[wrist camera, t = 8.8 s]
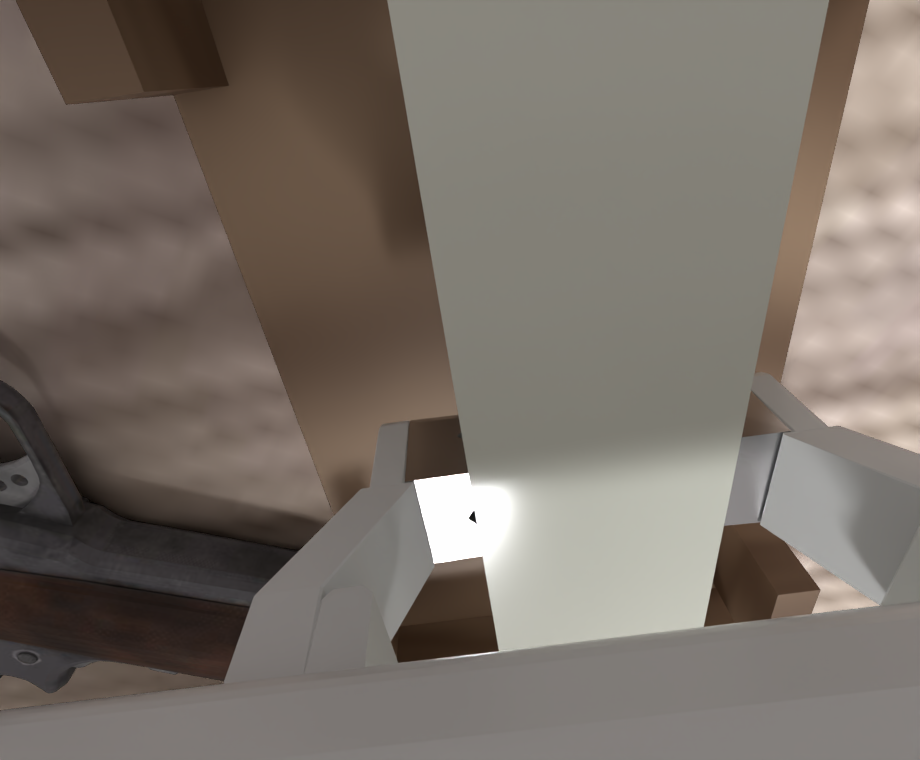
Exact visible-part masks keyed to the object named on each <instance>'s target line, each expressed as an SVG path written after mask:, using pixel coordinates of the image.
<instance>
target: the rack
mask: <svg viewBox="0 0 920 760" xmlns="http://www.w3.org/2000/svg"><path fill="white" fill-rule="evenodd" d="M16 2H17V4H18V6H19V8H20V11H21V13H22V15H23V17H24V19H25V21H26V23H27V25H28V27H29V29H30V31H31V33H32V35H33V37H34V39H35V42H36V44H37V46H38V48H39V50H40V52H41V54H42V56H43V58H44V60H45V62H46V64H47V66H48V68H49V70H50V73H51V75H52V77H53V79H54V81H55V83H56V85H57V87H58V89H59V91H60V93H61V95H62V97H63V99H64V101H65V104H66V105H68V104H79V103H90V102H101V101H112V100H123V99H134V98H145V97H156V96H167V95H174V98H175V101H176V103H177V106H178V108H179V111H180V114H181V116H182V119H183V122H184V124H185V127H186V129H187V132H188V135H189V137H190V140H191V142H192V145H193V148H194V150H195V153H196V156H197V158H198V161H199V163H200V166H201V169H202V171H203V174H204V177H205V179H206V182H207V184H208V187H209V190H210V192H211V195H212V198H213V200H214V203H215V205H216V208H217V211H218V213H219V216H220V218H221V221H222V224H223V226H224V229H225V232H226V234H227V237H228V239H229V242H230V245H231V247H232V250H233V253H234V255H235V258H236V260H237V263H238V266H239V268H240V271H241V273H242V276H243V279H244V281H245V284H246V287H247V289H248V292H249V294H250V297H251V300H252V302H253V305H254V308H255V310H256V313H257V315H258V318H259V321H260V323H261V326H262V329H263V331H264V334H265V336H266V339H267V342H268V344H269V347H270V349H271V352H272V355H273V357H274V360H275V363H276V365H277V368H278V370H279V373H280V376H281V378H282V381H283V384H284V386H285V389H286V391H287V394H288V397H289V399H290V402H291V404H292V407H293V410H294V412H295V415H296V418H297V420H298V423H299V425H300V428H301V431H302V433H303V436H304V439H305V441H306V444H307V446H308V449H309V452H310V454H311V457H312V460H313V462H314V465H315V467H316V470H317V473H318V475H319V478H320V480H321V483H322V486H323V488H324V491H325V494H326V496H327V499H328V501H329V504H330V507H331V509H332V512H333V515H335V514H336V513H337V512H338V511H339V510H340V509H341V508H342V507H343V506H344V505H345V504H346V503H347V502H348V501H349V500H350V499H351V498H352V497H353V496H354V495H355V494H356V493H357V492H358V491H359V490H360V489H363V488H369V487H370V481H371V475H372V469H373V463H374V457H375V450H376V444H377V438H378V432H379V428H380V427H381V425H382V424H386V423H393V422H401V421H411V420H417V419H425V418H434V417H443V416H451V415H458V410H457V404H456V398H455V392H454V386H453V381H452V375H451V369H450V363H449V357H448V351H447V346H446V340H445V334H444V328H443V322H442V316H441V311H440V305H439V299H438V293H437V287H436V281H435V276H434V270H433V264H432V258H431V252H430V246H429V241H428V235H427V229H426V223H425V217H424V211H423V206H422V200H421V194H420V188H419V182H418V176H417V171H416V165H415V159H414V153H413V147H412V141H411V136H410V130H409V124H408V118H407V112H406V107H405V101H404V95H403V89H402V83H401V77H400V72H399V66H398V60H397V54H396V48H395V42H394V37H393V31H392V25H391V19H390V13H389V7H388V2H387V0H16ZM868 4H869V0H829V3H828V8H827V13H826V18H825V23H824V28H823V33H822V38H821V43H820V48H819V53H818V58H817V63H816V68H815V73H814V78H813V83H812V88H811V93H810V98H809V103H808V108H807V113H806V118H805V123H804V128H803V133H802V138H801V143H800V148H799V153H798V158H797V163H796V168H795V173H794V178H793V183H792V188H791V193H790V198H789V203H788V208H787V213H786V218H785V223H784V228H783V233H782V238H781V243H780V248H779V253H778V258H777V263H776V268H775V273H774V278H773V283H772V288H771V293H770V298H769V303H768V308H767V313H766V318H765V323H764V328H763V333H762V338H761V343H760V348H759V353H758V358H757V363H756V368H755V373H758V372H764V373H767V374H770V375H771V376H772V377H774V378H775V379H776V380H777V381H778V382H779V383H780V382H781V378H782V374H783V369H784V365H785V361H786V356H787V352H788V348H789V343H790V339H791V335H792V331H793V326H794V322H795V318H796V313H797V309H798V305H799V301H800V296H801V292H802V288H803V283H804V279H805V275H806V270H807V266H808V262H809V258H810V253H811V249H812V245H813V240H814V236H815V232H816V227H817V223H818V219H819V215H820V210H821V206H822V202H823V197H824V193H825V189H826V185H827V180H828V176H829V172H830V167H831V163H832V159H833V154H834V150H835V146H836V142H837V137H838V133H839V129H840V124H841V120H842V116H843V112H844V107H845V103H846V99H847V94H848V90H849V86H850V81H851V77H852V73H853V69H854V64H855V60H856V56H857V51H858V47H859V43H860V39H861V34H862V30H863V26H864V21H865V17H866V13H867V8H868ZM819 592H820V589H819V587H818V586H817V585H816V583H815V582H814V581H813V579H812V578H811V576H810V575H809V574H808V572H807V571H806V570H805V568H804V567H803V566H802V564H801V563H800V562H799V560H798V559H797V558H796V556H795V555H794V554H793V552H792V551H791V550H790V548H789V547H788V545H787V544H786V543H785V541H783V540H782V539H780V538H779V537H777V536H776V535H774V534H773V533H771V532H770V531H768V530H767V529H765V528H764V527H763V526H761V525H760V522H758V523H748V524H738V525H728V526H724V528H723V533H722V538H721V543H720V548H719V553H718V558H717V563H716V568H715V573H714V578H713V583H712V588H711V593H710V598H709V603H708V608H707V613H706V618H705V623H704V627H707V626H715V625H723V624H732V623H740V622H749V621H757V620H765V619H774V618H782V617H791V616H799V615H807V614H811V613H812V611H813V608H814V606H815V603H816V600H817V598H818V595H819ZM391 644H392V647H393V650H394V652H395V655H396V658H397V661H398V663H402V662H410V661H419V660H427V659H436V658H444V657H453V656H461V655H470V654H478V653H487V652H495V651H499V649H498V643H497V637H496V631H495V626H494V620H493V614H492V608H491V602H490V596H489V591H488V585H487V579H486V573H485V567H484V561H483V556H478V557H471V558H465V559H458V560H452V561H445V562H439V563H434V568H433V570H432V572H431V573H430V575H429V577H428V578H427V580H426V582H425V584H424V585H423V587H422V589H421V591H420V592H419V594H418V596H417V597H416V599H415V601H414V603H413V604H412V606H411V608H410V609H409V611H408V613H407V615H406V616H405V618H404V620H403V621H402V623H401V625H400V627H399V628H398V630H397V632H396V634H395V635H394V637H393V639H392V640H391Z"/></svg>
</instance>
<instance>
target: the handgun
mask: <svg viewBox="0 0 920 760" xmlns="http://www.w3.org/2000/svg"><path fill="white" fill-rule="evenodd" d="M0 416H1V417H2V418H3V419H4V420H5V421H6V422H7V423H8V424H9V426H10V428H11V429H12V431H13V433H14V434H15V436H16V437H17V439H18V441H19V442H20V444H21V446H22V447H23V449H24V451H25V452H26V454H27V455H25V456H23V457H22V458H20V459H18V460H15V461H11V462H7V463H0V678H1V677H2V675H7V676H13V677H17V678H21V679H24V680H27V681H29V682H31V683H32V684H34V685H36V686H37V687H39V688H41V689H42V690H44V691H45V692H47V693H53V692H56V691H57V690H58V689H60V688H61V687H62V686H64V685H65V684H66V683H67V682H68V681H69V679H70V678H71V676H72V674H73V673H74V671H75V669H76V668H81V667H84V666H87V665H89V664H90V663H93V662H96V661H111V662H118V663H125V664H131V665H137V666H143V667H148V668H149V669H151V670H155V671H160V672H164V673H169V674H178V673H182V674H188V675H193V676H199V677H205V678H210V679H216V680H222V681H224V680H225V677H226V674H227V672H228V669H229V666H230V663H231V660H232V657H233V654H234V652H235V649H236V646H237V643H238V640H239V637H240V634H241V632H242V629H243V626H244V623H245V620H246V617H247V615H248V612H249V609H250V606H251V603H252V600H253V597H254V596H255V595H256V594H257V593H258V592H259V591H260V590H261V589H262V588H263V587H264V586H265V585H266V584H267V583H268V582H269V580H270V579H271V578H272V577H273V576H274V575H275V574H276V573H277V572H278V571H279V570H280V569H281V568H282V567H283V566H284V565H285V564H286V563H287V562H288V561H289V560H290V559H291V558H292V557H293V556H294V555H295V554H296V553H297V552H298V551H296V550H290V549H285V548H280V547H274V546H269V545H263V544H258V543H252V542H247V541H241V540H236V539H231V538H225V537H220V536H214V535H209V534H203V533H198V532H192V531H187V530H181V529H176V528H171V527H165V526H159V525H154V524H148V523H142V522H137V521H131V520H127V519H125V518H122V517H120V516H118V515H116V514H114V513H113V512H111V511H110V510H108V509H107V508H106V507H105V506H102V505H98V504H94V503H91V502H89V499H88V498H85V497H82V496H81V495H80V493H79V491H78V489H77V488H76V486H75V484H74V482H73V480H72V478H71V476H70V475H69V473H68V471H67V469H66V467H65V465H64V463H63V462H62V460H61V458H60V456H59V454H58V452H57V450H56V449H55V447H54V445H53V443H52V441H51V439H50V437H49V435H48V434H47V432H46V430H45V428H44V426H43V424H42V422H41V421H40V419H39V417H38V415H37V413H36V411H35V409H34V408H33V407H32V406H31V404H30V403H29V402H28V401H27V400H26V399H25V398H24V397H23V396H22V395H21V394H19V393H18V392H17V391H16V390H15V389H14V388H12V387H11V386H9V385H8V384H6V383H5V382H3V381H1V380H0ZM21 475H22V476H24V477H25V478H24V477H22V476H21Z"/></svg>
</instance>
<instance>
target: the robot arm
mask: <svg viewBox="0 0 920 760" xmlns="http://www.w3.org/2000/svg"><path fill="white" fill-rule="evenodd" d="M758 522H760V525H761V526H763V527H764V528H765V529H767V530H768V531H770V532H771V533H773V534H774V535H776V536H777V537H779V538H780V539H782V540H783V541H785V542H786V543H788V544H789V545H791V546H792V547H794V548H795V549H797V550H798V551H800V552H801V553H803V554H804V555H806V556H807V557H809V558H810V559H812V560H813V561H815V562H816V563H818V564H819V565H821V566H822V567H824V568H825V569H827V570H828V571H829V572H831V573H832V574H834V575H835V576H837V577H838V578H840V579H841V580H843V581H844V582H846V583H847V584H849V585H850V586H852V587H853V588H855V589H856V590H858V591H859V592H861V593H862V594H864V595H865V596H867V597H868V598H870V599H871V600H873V601H874V602H876V603H877V604H879V605H880V606H875V607H866V608H858V609H849V610H841V611H833V612H824V613H816V614H807V615H799V616H791V617H782V618H774V619H765V620H757V621H749V622H740V623H732V624H723V625H715V626H707V627H698V628H690V629H681V630H673V631H665V632H656V633H648V634H640V635H631V636H623V637H614V638H606V639H597V640H589V641H580V642H572V643H563V644H555V645H546V646H538V647H529V648H521V649H512V650H504V651H495V652H487V653H478V654H470V655H461V656H453V657H444V658H436V659H427V660H419V661H410V662H402V663H398V661H397V658H396V655H395V652H394V650H393V647H392V644H391V640H392V639H393V637H394V635H395V634H396V632H397V630H398V628H399V627H400V625H401V623H402V621H403V620H404V618H405V616H406V615H407V613H408V611H409V609H410V608H411V606H412V604H413V603H414V601H415V599H416V597H417V596H418V594H419V592H420V591H421V589H422V587H423V585H424V584H425V582H426V580H427V578H428V577H429V575H430V573H431V572H432V570H433V568H434V563H439V562H445V561H452V560H458V559H465V558H471V557H478V556H482V550H481V544H480V538H479V532H478V526H477V521H476V515H475V509H474V503H473V497H472V491H471V486H470V480H469V474H468V468H467V462H466V456H465V451H464V445H463V439H462V433H461V427H460V421H459V416H458V415H451V416H443V417H434V418H425V419H417V420H411V421H401V422H393V423H386V424H382V425H381V427H380V428H379V432H378V438H377V444H376V450H375V457H374V463H373V469H372V475H371V481H370V487H369V488H363V489H360V490H359V491H358V492H357V493H356V494H355V495H354V496H353V497H352V498H351V499H350V500H349V501H348V502H347V503H346V504H345V505H344V506H343V507H342V508H341V509H340V510H339V511H338V512H337V513H336V514H335V515H334V516H333V517H332V518H331V519H330V520H329V521H328V522H327V523H326V524H325V525H324V526H323V527H322V528H321V529H320V530H319V531H318V532H317V533H316V534H315V535H314V536H313V537H312V538H311V539H310V540H309V541H308V542H307V543H306V544H305V545H304V546H303V547H302V548H301V549H300V550H299V551H298V552H297V553H296V554H295V555H294V556H293V557H292V558H291V559H290V560H289V561H288V562H287V563H286V564H285V565H284V566H283V567H282V568H281V569H280V570H279V571H278V572H277V573H276V574H275V575H274V576H273V577H272V578H271V579H270V580H269V582H268V583H267V584H266V585H265V586H264V587H263V588H262V589H261V590H260V591H259V592H258V593H257V594H256V595H255V596H254V597H253V600H252V603H251V606H250V609H249V612H248V615H247V617H246V620H245V623H244V626H243V629H242V632H241V634H240V637H239V640H238V643H237V646H236V649H235V652H234V654H233V657H232V660H231V663H230V666H229V669H228V672H227V674H226V677H225V680H224V683H223V684H217V685H209V686H200V687H192V688H183V689H175V690H167V691H158V692H150V693H141V694H133V695H125V696H116V697H108V698H99V699H91V700H83V701H74V702H66V703H57V704H49V705H41V706H32V707H24V708H15V709H7V710H0V760H920V454H917V453H915V452H912V451H909V450H906V449H903V448H900V447H898V446H895V445H892V444H889V443H886V442H883V441H881V440H878V439H875V438H872V437H869V436H866V435H864V434H861V433H858V432H855V431H852V430H849V429H847V428H844V427H841V426H833V427H828V426H827V425H826V424H825V423H824V422H822V421H821V420H820V419H819V418H818V417H817V416H816V415H815V414H814V413H812V412H811V411H810V410H809V409H808V408H807V407H806V406H805V405H804V404H802V403H801V402H800V401H799V400H798V399H797V398H796V397H795V396H794V395H792V394H791V393H790V392H789V391H788V390H787V389H786V388H785V387H784V386H782V385H781V384H780V383H779V382H778V381H777V380H776V379H775V378H774V377H772V376H771V375H770V374H767V373H764V372H758V373H754V378H753V383H752V388H751V393H750V398H749V403H748V408H747V413H746V418H745V423H744V428H743V433H742V438H741V443H740V448H739V453H738V458H737V463H736V468H735V473H734V478H733V483H732V488H731V493H730V498H729V503H728V508H727V513H726V518H725V523H724V526H728V525H738V524H748V523H758Z"/></svg>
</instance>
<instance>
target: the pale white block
mask: <svg viewBox="0 0 920 760" xmlns="http://www.w3.org/2000/svg"><path fill="white" fill-rule="evenodd" d="M387 2H388V7H389V13H390V19H391V25H392V31H393V37H394V42H395V48H396V54H397V60H398V66H399V72H400V77H401V83H402V89H403V95H404V101H405V107H406V112H407V118H408V124H409V130H410V136H411V141H412V147H413V153H414V159H415V165H416V171H417V176H418V182H419V188H420V194H421V200H422V206H423V211H424V217H425V223H426V229H427V235H428V241H429V246H430V252H431V258H432V264H433V270H434V276H435V281H436V287H437V293H438V299H439V305H440V311H441V316H442V322H443V328H444V334H445V340H446V346H447V351H448V357H449V363H450V369H451V375H452V381H453V386H454V392H455V398H456V404H457V410H458V416H459V421H460V427H461V433H462V439H463V445H464V451H465V456H466V462H467V468H468V474H469V480H470V486H471V491H472V497H473V503H474V509H475V515H476V521H477V526H478V532H479V538H480V544H481V550H482V556H483V561H484V567H485V573H486V579H487V585H488V591H489V596H490V602H491V608H492V614H493V620H494V626H495V631H496V637H497V643H498V649H499V651H504V650H512V649H521V648H529V647H538V646H546V645H555V644H563V643H572V642H580V641H589V640H597V639H606V638H614V637H623V636H631V635H640V634H648V633H656V632H665V631H673V630H681V629H690V628H698V627H704V623H705V618H706V613H707V608H708V603H709V598H710V593H711V588H712V583H713V578H714V573H715V568H716V563H717V558H718V553H719V548H720V543H721V538H722V533H723V528H724V523H725V518H726V513H727V508H728V503H729V498H730V493H731V488H732V483H733V478H734V473H735V468H736V463H737V458H738V453H739V448H740V443H741V438H742V433H743V428H744V423H745V418H746V413H747V408H748V403H749V398H750V393H751V388H752V383H753V378H754V373H755V368H756V363H757V358H758V353H759V348H760V343H761V338H762V333H763V328H764V323H765V318H766V313H767V308H768V303H769V298H770V293H771V288H772V283H773V278H774V273H775V268H776V263H777V258H778V253H779V248H780V243H781V238H782V233H783V228H784V223H785V218H786V213H787V208H788V203H789V198H790V193H791V188H792V183H793V178H794V173H795V168H796V163H797V158H798V153H799V148H800V143H801V138H802V133H803V128H804V123H805V118H806V113H807V108H808V103H809V98H810V93H811V88H812V83H813V78H814V73H815V68H816V63H817V58H818V53H819V48H820V43H821V38H822V33H823V28H824V23H825V18H826V13H827V8H828V3H829V0H387Z"/></svg>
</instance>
